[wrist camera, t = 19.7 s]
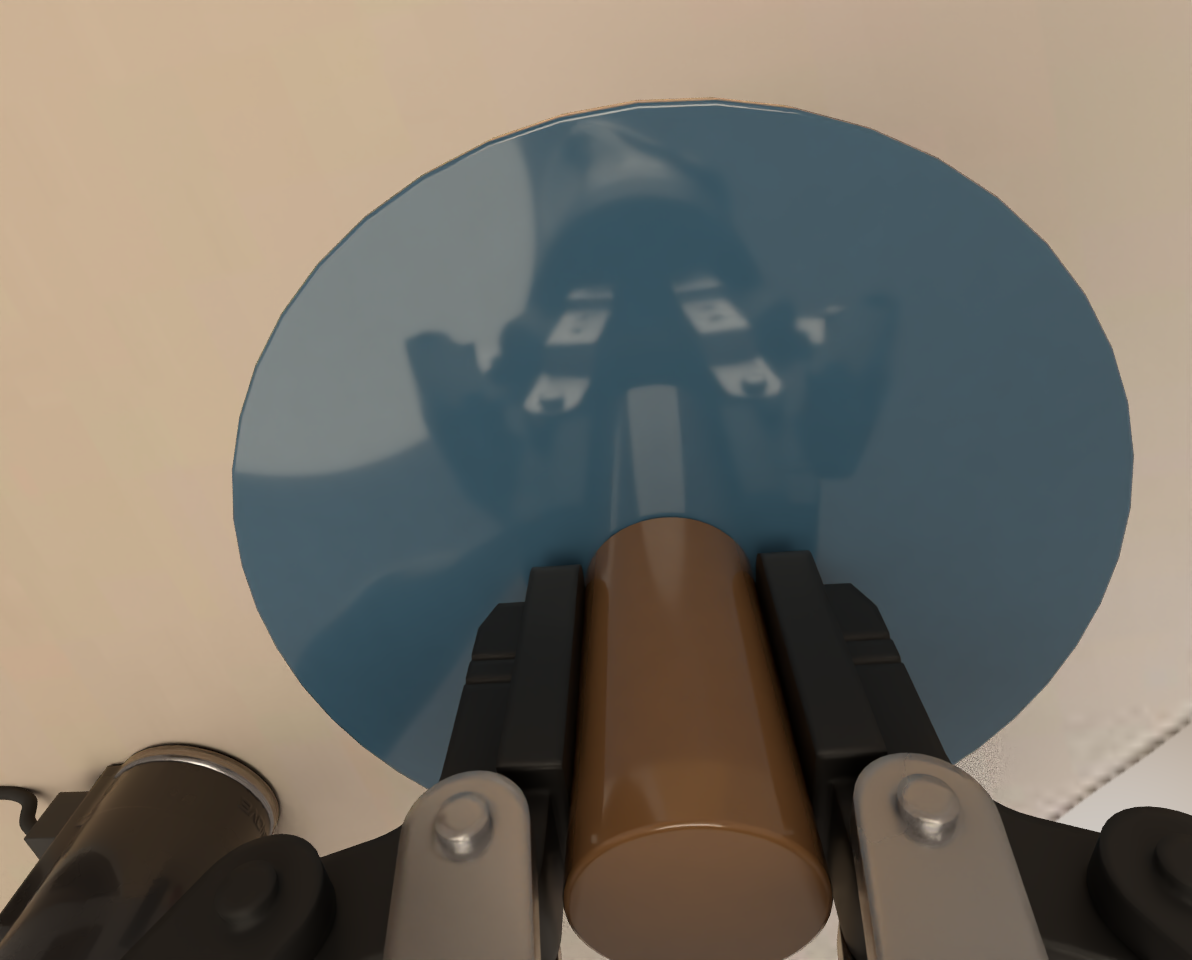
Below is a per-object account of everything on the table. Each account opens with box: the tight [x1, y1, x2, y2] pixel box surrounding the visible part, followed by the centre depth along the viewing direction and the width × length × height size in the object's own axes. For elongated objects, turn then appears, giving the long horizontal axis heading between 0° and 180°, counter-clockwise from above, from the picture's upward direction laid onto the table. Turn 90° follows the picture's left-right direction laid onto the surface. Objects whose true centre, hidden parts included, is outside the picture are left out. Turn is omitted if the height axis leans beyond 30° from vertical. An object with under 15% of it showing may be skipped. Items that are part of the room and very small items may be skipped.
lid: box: [232, 97, 1134, 960], centre depth 10 cm, size 13×13×6 cm
